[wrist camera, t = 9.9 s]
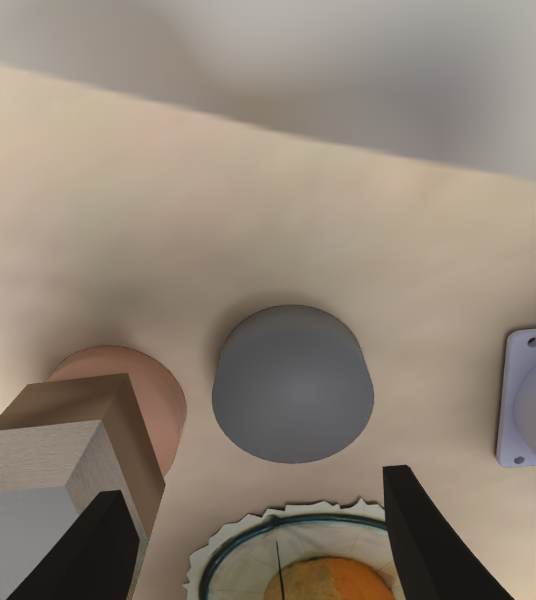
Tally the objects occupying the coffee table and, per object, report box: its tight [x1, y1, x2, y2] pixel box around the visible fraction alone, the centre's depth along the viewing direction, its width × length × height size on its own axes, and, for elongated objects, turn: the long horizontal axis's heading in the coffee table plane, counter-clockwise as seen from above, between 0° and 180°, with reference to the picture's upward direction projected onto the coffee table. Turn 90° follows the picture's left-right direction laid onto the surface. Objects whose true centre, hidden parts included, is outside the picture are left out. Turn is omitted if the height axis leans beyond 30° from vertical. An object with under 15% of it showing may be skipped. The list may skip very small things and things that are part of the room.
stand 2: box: [212, 305, 374, 464], centre depth 20 cm, size 7×7×2 cm
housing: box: [0, 373, 165, 600], centre depth 17 cm, size 4×6×6 cm
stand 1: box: [46, 346, 187, 477], centre depth 21 cm, size 7×7×2 cm
